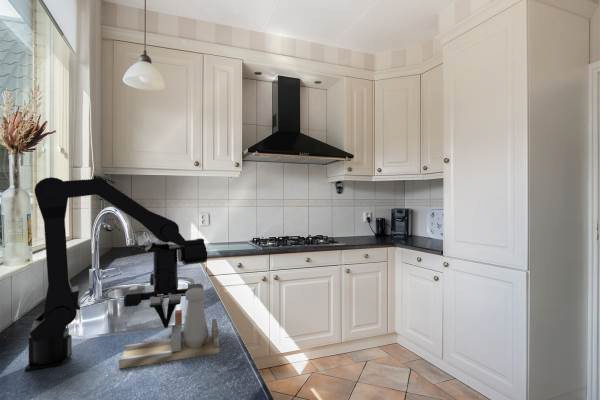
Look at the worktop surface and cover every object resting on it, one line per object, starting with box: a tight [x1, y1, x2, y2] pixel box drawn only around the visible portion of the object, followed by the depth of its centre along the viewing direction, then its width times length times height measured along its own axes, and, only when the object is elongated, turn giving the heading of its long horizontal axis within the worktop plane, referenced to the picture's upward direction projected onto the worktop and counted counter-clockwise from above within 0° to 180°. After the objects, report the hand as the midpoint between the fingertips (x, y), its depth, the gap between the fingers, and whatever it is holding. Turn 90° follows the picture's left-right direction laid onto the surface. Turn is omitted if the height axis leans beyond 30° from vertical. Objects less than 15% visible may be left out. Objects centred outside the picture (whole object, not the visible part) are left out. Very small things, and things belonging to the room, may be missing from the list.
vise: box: [118, 318, 220, 369], centre depth 72 cm, size 20×7×5 cm, turn 109°
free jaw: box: [170, 309, 183, 352], centre depth 77 cm, size 2×16×4 cm, turn 19°
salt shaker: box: [181, 288, 209, 349], centre depth 74 cm, size 6×6×13 cm
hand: (166, 327), depth 83 cm, fingers closed
